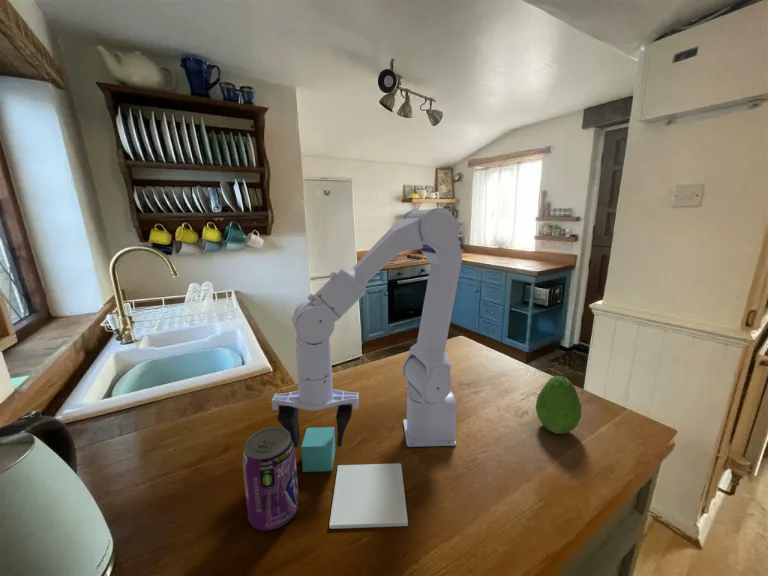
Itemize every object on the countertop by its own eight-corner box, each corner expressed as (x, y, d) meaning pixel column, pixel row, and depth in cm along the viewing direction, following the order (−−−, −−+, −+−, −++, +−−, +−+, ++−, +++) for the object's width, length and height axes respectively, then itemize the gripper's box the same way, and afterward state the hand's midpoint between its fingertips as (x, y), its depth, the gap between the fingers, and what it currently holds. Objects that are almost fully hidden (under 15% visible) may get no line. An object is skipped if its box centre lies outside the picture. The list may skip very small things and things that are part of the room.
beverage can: (284, 539, 42) (277, 463, 40) (237, 529, 44) (228, 455, 41) (307, 495, 49) (302, 427, 47) (266, 488, 51) (259, 422, 48)
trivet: (401, 466, 55) (401, 463, 55) (407, 525, 44) (407, 522, 44) (338, 468, 55) (337, 465, 55) (329, 528, 44) (329, 525, 44)
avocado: (552, 446, 60) (559, 388, 57) (526, 420, 67) (531, 369, 65) (588, 439, 61) (596, 383, 59) (558, 416, 69) (564, 365, 66)
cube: (335, 450, 59) (334, 427, 58) (331, 471, 54) (330, 445, 53) (308, 451, 59) (307, 427, 58) (302, 472, 54) (301, 446, 53)
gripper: (358, 361, 57) (360, 427, 60) (278, 362, 57) (283, 429, 59) (357, 380, 50) (358, 454, 53) (265, 382, 50) (271, 456, 52)
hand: (318, 443), depth 56 cm, fingers open, 7 cm apart
